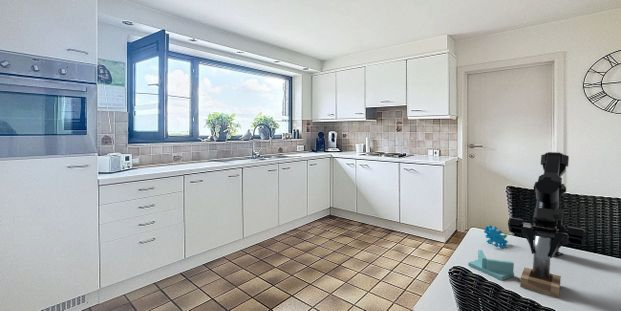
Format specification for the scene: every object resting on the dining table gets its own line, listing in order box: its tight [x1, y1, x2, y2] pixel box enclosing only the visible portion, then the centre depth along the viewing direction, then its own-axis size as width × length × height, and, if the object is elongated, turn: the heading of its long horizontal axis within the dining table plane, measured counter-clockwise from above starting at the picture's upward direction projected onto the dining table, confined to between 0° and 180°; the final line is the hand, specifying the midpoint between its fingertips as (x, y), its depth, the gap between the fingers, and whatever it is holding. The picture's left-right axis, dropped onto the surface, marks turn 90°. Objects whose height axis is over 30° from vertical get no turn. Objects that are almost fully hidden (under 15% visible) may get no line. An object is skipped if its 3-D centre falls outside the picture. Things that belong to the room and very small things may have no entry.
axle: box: [532, 234, 552, 278], centre depth 90 cm, size 4×4×12 cm
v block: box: [467, 249, 515, 281], centre depth 100 cm, size 6×12×5 cm, turn 25°
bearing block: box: [519, 266, 562, 299], centre depth 90 cm, size 9×9×3 cm
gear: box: [483, 224, 509, 249], centre depth 124 cm, size 11×6×10 cm
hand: (541, 255), depth 89 cm, fingers closed on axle, 4 cm apart
